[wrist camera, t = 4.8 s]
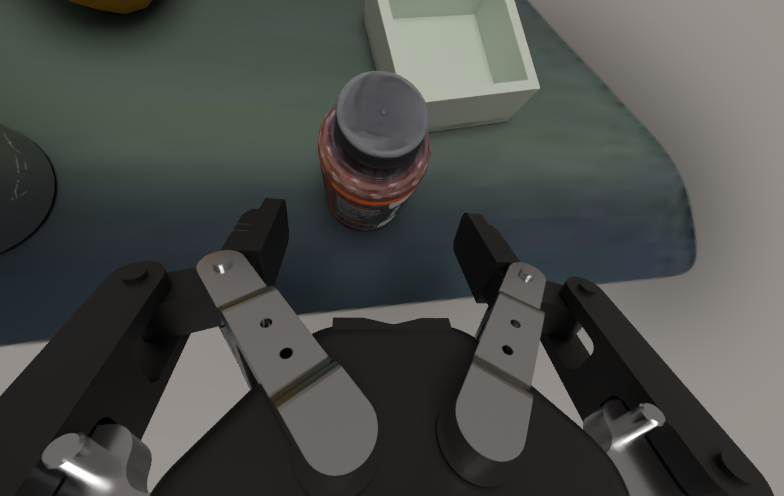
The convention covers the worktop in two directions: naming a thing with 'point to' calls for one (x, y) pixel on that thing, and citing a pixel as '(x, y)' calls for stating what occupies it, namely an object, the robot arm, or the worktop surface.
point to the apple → (114, 5)
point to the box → (455, 56)
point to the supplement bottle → (373, 148)
